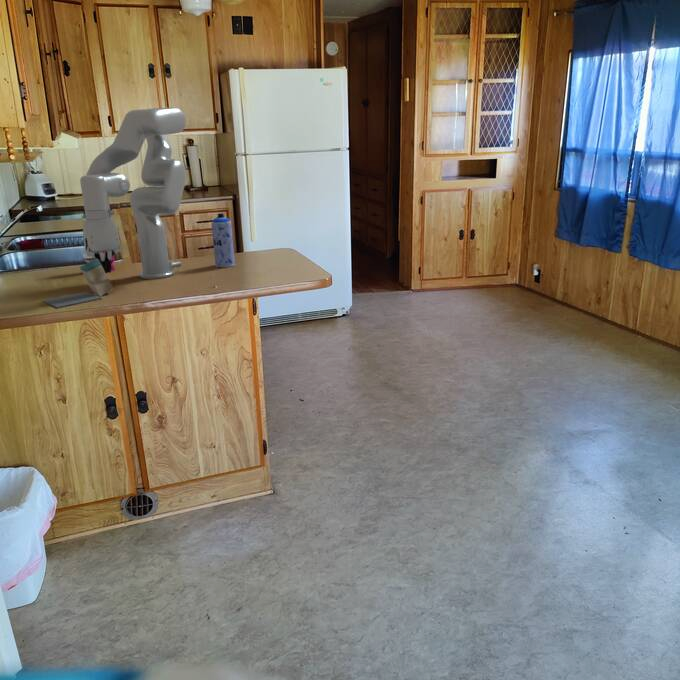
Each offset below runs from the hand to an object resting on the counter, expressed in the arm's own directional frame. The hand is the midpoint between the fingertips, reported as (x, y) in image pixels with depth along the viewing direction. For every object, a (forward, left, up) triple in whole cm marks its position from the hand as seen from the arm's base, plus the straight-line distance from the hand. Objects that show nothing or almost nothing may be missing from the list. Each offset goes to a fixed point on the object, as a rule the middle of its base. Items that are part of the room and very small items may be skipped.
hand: (106, 272), depth 198 cm
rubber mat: (+12, 0, -7) cm, 14 cm away
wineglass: (-3, -16, -7) cm, 18 cm away
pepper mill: (-15, -36, -7) cm, 40 cm away
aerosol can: (-49, -5, -7) cm, 50 cm away
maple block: (+2, 0, -6) cm, 6 cm away
